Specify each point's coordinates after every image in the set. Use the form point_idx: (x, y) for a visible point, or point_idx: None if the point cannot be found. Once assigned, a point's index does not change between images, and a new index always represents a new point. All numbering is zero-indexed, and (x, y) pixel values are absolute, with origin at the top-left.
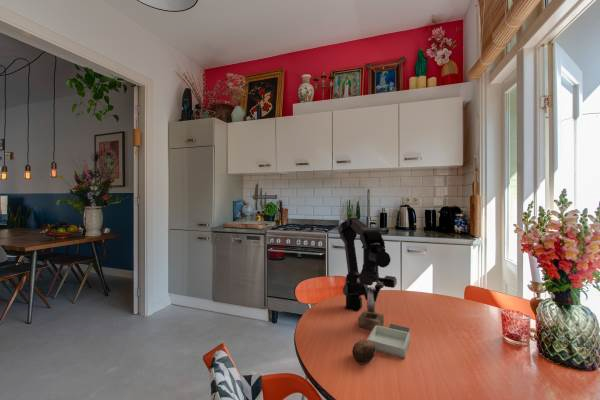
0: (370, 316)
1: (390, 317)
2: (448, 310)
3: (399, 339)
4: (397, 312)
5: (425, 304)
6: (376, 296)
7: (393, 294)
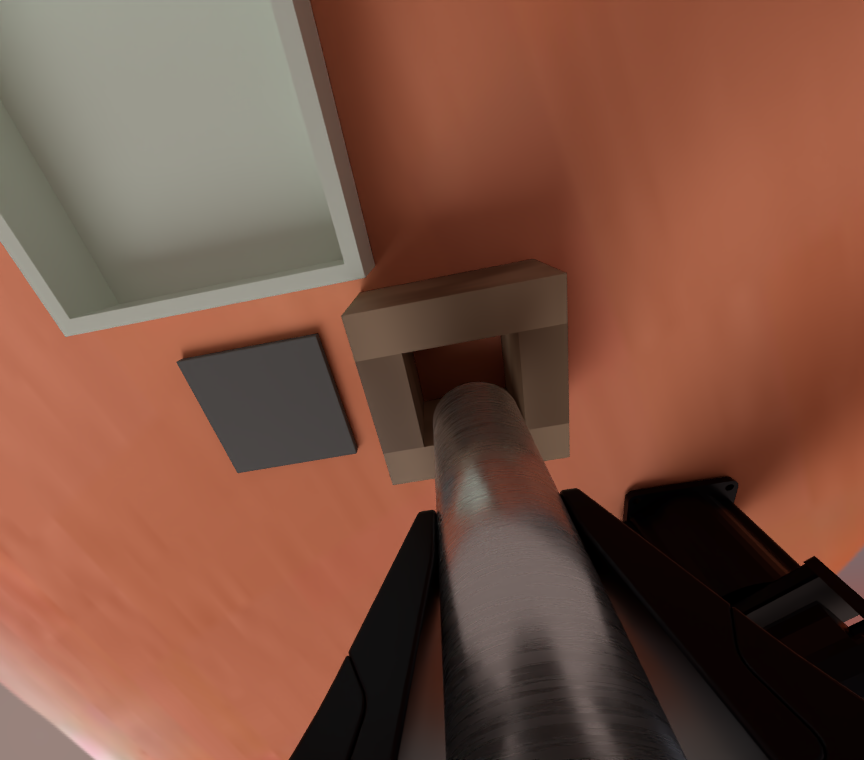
0: None
1: None
2: (232, 712)
3: (160, 264)
4: None
5: None
6: (380, 595)
7: None
